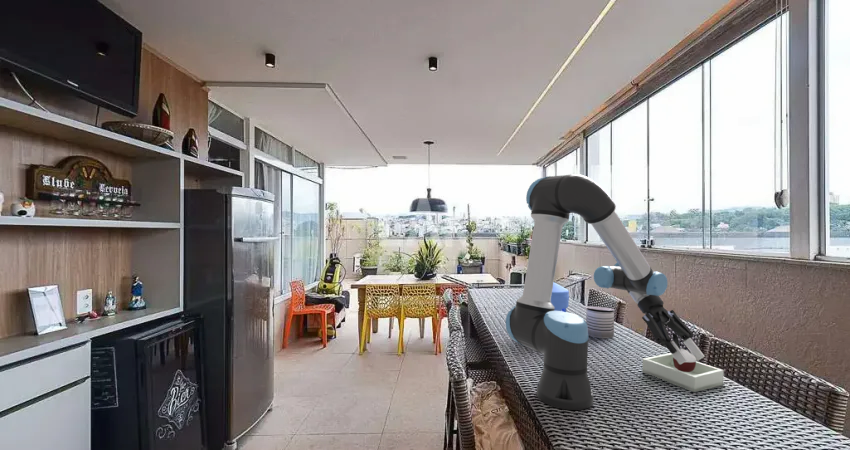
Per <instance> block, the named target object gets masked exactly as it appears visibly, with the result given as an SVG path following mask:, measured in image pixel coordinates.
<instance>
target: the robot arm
mask: <svg viewBox="0 0 850 450" xmlns="http://www.w3.org/2000/svg"><path fill="white" fill-rule="evenodd" d="M525 200H526V205H527V208H528V209H529V210H530V211H531V212H530V217H531V218H532V220H533V221H534V225H533V230H532V234H531V236H532V237H531V242H530V248H529V254H528V259H527V261H528V262H527V266H526V271H525V272H526V273H525V280H524V284H523V290H522V291H523V292H522V295H521V296H520V297H519V298H517V299H516V302H515V305H514V306H513V307H511V308H510V310H509V311H508V312H507V315H506V317H505V329H506V333H507V334H508V335H509V337H510V338H511V340H513V341H514V342H516V343H517V344H519V345H520V346H522V347H526V348H528V349H531V350H533V351H535V352H537V353H541V354H543V368H542V369H543V370H542V373H541V375H540V377H539V382H538V383H537V385H536V396H537V399H539V400H540V401H541V402H542V403H544V404H546V405H548V406H551V407H554V408H557V409H562V410H568V411H580V410H581V411H582V410H587V409H589V408H592V406H593V405H594V392H593V390H592V386H591V382H590V379H589V376H588V354H589V351H588V350H589V335H588V326H587V323H586V319H584V318H583V317H581V316H580V315H577V314H575V313H572V312H569V311H566V312H564V311H562V310H561V311H554V309H555V307H554V306H553V305H552V303H551V295H552V289H553V283H555V282H554V280H555V276H556V269H557V263H558V256H559V250H560V243H561V238H562V233H563V232H562V231H563V226H564V225H565V224H567V223H568V222H569V221H570V220H569V219H570V214H576V215H578V216H580V217H582V220H583V221H584V222H585V223H586V224H589V225H591V226H592V227H593V229H594V231H595V232H596V233H597V235H598V237H599V238H600V239H601V241H602V242H603V244H604V245H605V246H606V248H607V250H608V251H609V252H610V254H611V255H612V257H613V259H615V261H616V263H615V264H614V265H612V266H611V265H602V266H598V267H597V268H596V269H595V270H594V271H593V280H594V283H595V284H596V286H597V287H599V288H603V289H617V290H621V291H627V293H628V295H630V297H631V299H632V300H633V301H634V303H635V304H637V307H638V308H639V310H640V311H641V313H642V314H644V315H643V316H642V317H641V319H642V320H643V322H645V324H646V325H647V327H648V328H649V330H650V332H651V334H652V335H653V337H654V339H655V341H656V342H657V343H658V345H661V346H662V347H664V346H665V347H666V348H667V350H668V351H669V353H672V354H673V356H674V357H675V359H676V360H677V361H678V363H679V364H682V363H684V362H685V361H687V359H686V357H685V356H684V355H683V353H682V352H681V350H680V349H681V348H680V349H679V348H678V346H677V345H676V344H675V342H674V340H672V341H671V338H670V335H669V333H668V330H667V327H668V328H670V330H672V331H673V332H674V334H677V337H678V338H681V339H682V340H683V344H684V346H685V347H686V348H687V349H688V352H690V353H692V354H694V355H695V358H696V361H697V362H699V361H700V360H702V359H703V358H704V357H705V355H704V353H703V352H702V351H701V348H700V347H698V345H697V343H695V341H694V340H693V339H692V338H693V337H694V332H692V330H691V329H690V328H689V327H688V326H687V325H686V324H685V323H684V322H683V320H681V318H680V317H679V316H678V314H677V313H676V312H675V311H674V309H671V310H667V309H666V308H665V307H664V301H663V300H662V298H661V297H660V296H662V295H664V293H665V292H666V290H667V288H668V284H669V283H668V277H667V276H666V274H664V273H663V272H659V271H655V270H653V269H652V267H651V266H650V264H649V262H648V260H647V259H646V257H645V256H644V255H643V253H642V252H641V250H640V248H639V247H638V245H637V243H636V242H635V240H634V238H632V235H631V234H630V233H629V231H628V229H627V228H626V226H625V225H624V223H623V222H622V220H621V218H620V217H619V215H618V214H617V212H616V210H617V209H616V208H617V205H616V204H615V202H614V200H613V199H612V197H611V196H610V195H609V193H608V192H607V191H606V190H605V189H604V188H603V187H602V186H601V185H600V184H599V183H597V182H596V181H594V180H593V179H592V178H590V177H588V176H586V175H583V174H578V173H577V174H576V173H570V174H566V175H565V174H564V175H553V176H551V175H549V176H544V177H540V178H537V179H536V180H535V181H533V182H532V183H531V184H530V186H529V188H528V189H527V192H526V199H525Z"/></svg>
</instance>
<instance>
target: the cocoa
mask: <svg viewBox="0 0 850 450" xmlns="http://www.w3.org/2000/svg"><path fill="white" fill-rule="evenodd" d="M671 335H672V341H674V342H675V344H676V345H677V346H678V348H679V349H680V350H681V352H682V353H683V355H684V356H685V357H686V359H687V361H685V362H684V363H682V364H679V363H678V361H677V360H676V359H675V357H674V356H673V362H674V366H675V368H676V369H678V370H679V371H682V372H691V371H693V370H694V368H695V365H696V361H697V360H696V358H695V355H694V354H692V353H691V352H690V351H689V350H686V349H684V348H681V346H680V342H679V336H678V335H677V334H676V333H675V332H674V333H673V332H672V334H671ZM672 355H673V354H672Z"/></svg>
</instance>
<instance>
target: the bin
mask: <svg viewBox="0 0 850 450" xmlns="http://www.w3.org/2000/svg"><path fill="white" fill-rule="evenodd" d="M641 368H642V370H641V372H642V373H644V374H646V375H648V374H649V376H651V375H652V376H651V377H654V376H655V377H654V378H656V377H657V378H656V379H659V378H660V379H659V380H661V379H662V380H661V381H664V380H665V381H664V382H666V381H667V383H669V382H670V383H669V384H672V385H674V384H675V386H677V387H679V386H680V387H679V388H682V389H684V388H685V390H687V391H690V392H691V393H692V392H693V393H697V392H701V391H705V390H708V389H712V388H716V387H720V386H723V385H724V376H725V375H724V373H725V371H724V369H721V368H718V367H714V366H712V365H708V364H705V363H704V362H703V363H702V362H700V361H697V360H696V365H695V368H694V370H693V371H691V372H682V371H679V370H678V369H676V368H675V366H674V362H673V355H672V353H671V352H669V353H664V354H659V355H654V356H649V357H644V358H642V367H641Z"/></svg>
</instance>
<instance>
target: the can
mask: <svg viewBox="0 0 850 450" xmlns="http://www.w3.org/2000/svg"><path fill="white" fill-rule="evenodd" d="M585 313H586V316H585V317H586V319H585V321H586V323H587V326H588V337H589V336H590V337H593V338H599V339H611V338H613V337H615V335H614V333H615V309H614V308H611V307H605V306H604V307H603V306H592V305H591V306H586V312H585Z"/></svg>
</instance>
